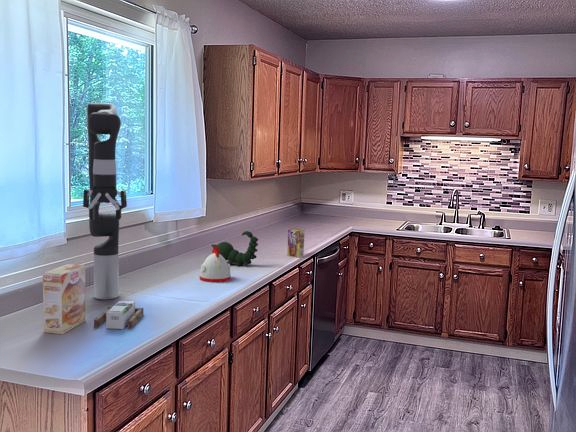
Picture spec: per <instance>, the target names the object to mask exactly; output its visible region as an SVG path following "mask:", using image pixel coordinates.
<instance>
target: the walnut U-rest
mask: <svg viewBox="0 0 576 432" xmlns="http://www.w3.org/2000/svg"><path fill="white" fill-rule="evenodd" d="M112 307H113V306H108V307H107V308H106V309H105V310H103V311H102V312H101V313H100V314H99V315H98V316H97V317H95V319H93V328H99V327H100V326H101V325H102V324H103V323H104V322H105V321H106V312H108V311H109V310H110V309H111V308H112ZM143 316H144V308H143V307H135V314H134V315H133V316H132V317H131V318H130V319H129V320H128V324H127V329H129V330H132V329H133V328H134V326H136V324H137V323H138V322H139V321H140V320H141V319H142V317H143Z"/></svg>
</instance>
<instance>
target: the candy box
mask: <svg viewBox="0 0 576 432" xmlns="http://www.w3.org/2000/svg"><path fill="white" fill-rule="evenodd" d="M305 234H306V233H305V229H303V228H297V227H289V228H287V250H286V251H287V254H286V255H287V256H289V255H290V256H289V257H294V256H295V257H294V258H304V255H305V253H304V252H305Z"/></svg>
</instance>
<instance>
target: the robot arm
mask: <svg viewBox="0 0 576 432" xmlns="http://www.w3.org/2000/svg"><path fill="white" fill-rule="evenodd" d="M117 112H118V111H117V107H116V105H114V104H113V103H109V102H88V104H87V106H86V113H85V115H86V116H85V117H86V128H87V138H88V179H89V180H88V183H89V189H87V188H86V189H84V190H83V198H82V199H83V201H82V202H83V203H82V206H83V207H84V208H87V209H88V217H89V218H88V220H89V221H88V222H89V225H88V228H89V233H90V236H92V237H95V238H97V237H108V239H107V240H105V241H104V242H101V243H98V244H96V245H95V246H94V247H93V293H94V294H93V297H94V298H95V299H97V300H114V299H117V298H119V295H120V293H119V289H120V288H119V285H120V284H119V283H120V281H119V278H120V277H119V272H120V271H119V237H120V236H119V234H120V220H121V219H122V209H125V208H127V207H128V205H127V204H128V202H127V191H126V190H125V189H124V190H117V161H116V147H117V146H116V145H117V140H118V137H119V133H120V130H121V124H122V121H121V118H120V116H119V115H118V113H117ZM99 135H106V136H107V135H109V137H108V138H107V139H106V140H105V139H104V140H101V139H100V137H99ZM117 196H118V197H119V198H120V203H119V201H118V199H117V198H116V197H117ZM103 203H104V204H105V203H106V204H110V203H111V206H113V207H114V208H115V209H116V210H115V212H99V211H100V205H101V204H103Z"/></svg>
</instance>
